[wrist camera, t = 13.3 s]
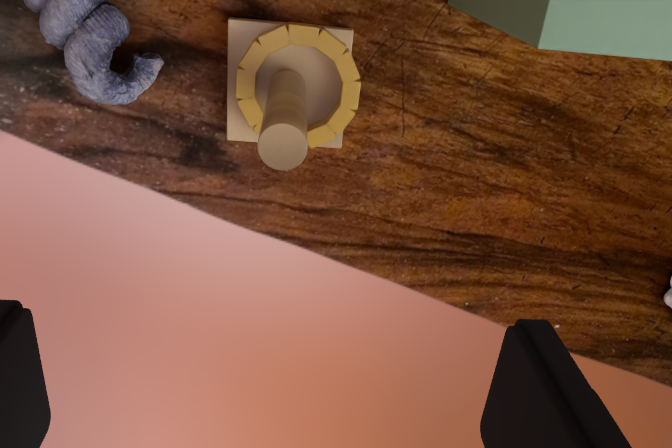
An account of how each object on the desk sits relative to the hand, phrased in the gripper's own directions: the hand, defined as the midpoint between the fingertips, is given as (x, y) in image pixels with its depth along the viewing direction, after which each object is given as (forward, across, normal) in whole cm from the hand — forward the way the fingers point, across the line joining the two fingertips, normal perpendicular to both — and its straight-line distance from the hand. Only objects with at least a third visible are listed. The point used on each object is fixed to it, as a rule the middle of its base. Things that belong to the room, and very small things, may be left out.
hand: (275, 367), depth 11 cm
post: (+30, 0, +2) cm, 30 cm away
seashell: (+31, +12, -1) cm, 33 cm away
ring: (+29, -1, +2) cm, 29 cm away
